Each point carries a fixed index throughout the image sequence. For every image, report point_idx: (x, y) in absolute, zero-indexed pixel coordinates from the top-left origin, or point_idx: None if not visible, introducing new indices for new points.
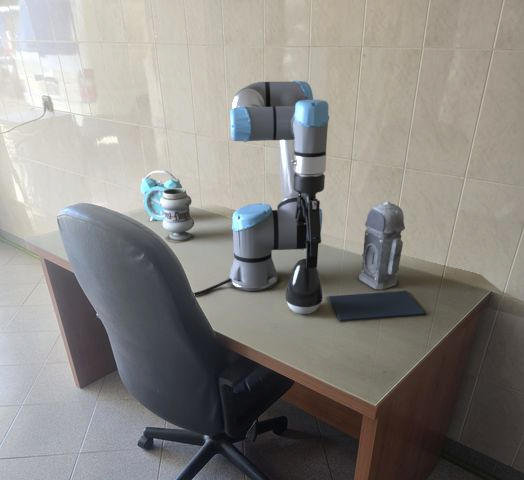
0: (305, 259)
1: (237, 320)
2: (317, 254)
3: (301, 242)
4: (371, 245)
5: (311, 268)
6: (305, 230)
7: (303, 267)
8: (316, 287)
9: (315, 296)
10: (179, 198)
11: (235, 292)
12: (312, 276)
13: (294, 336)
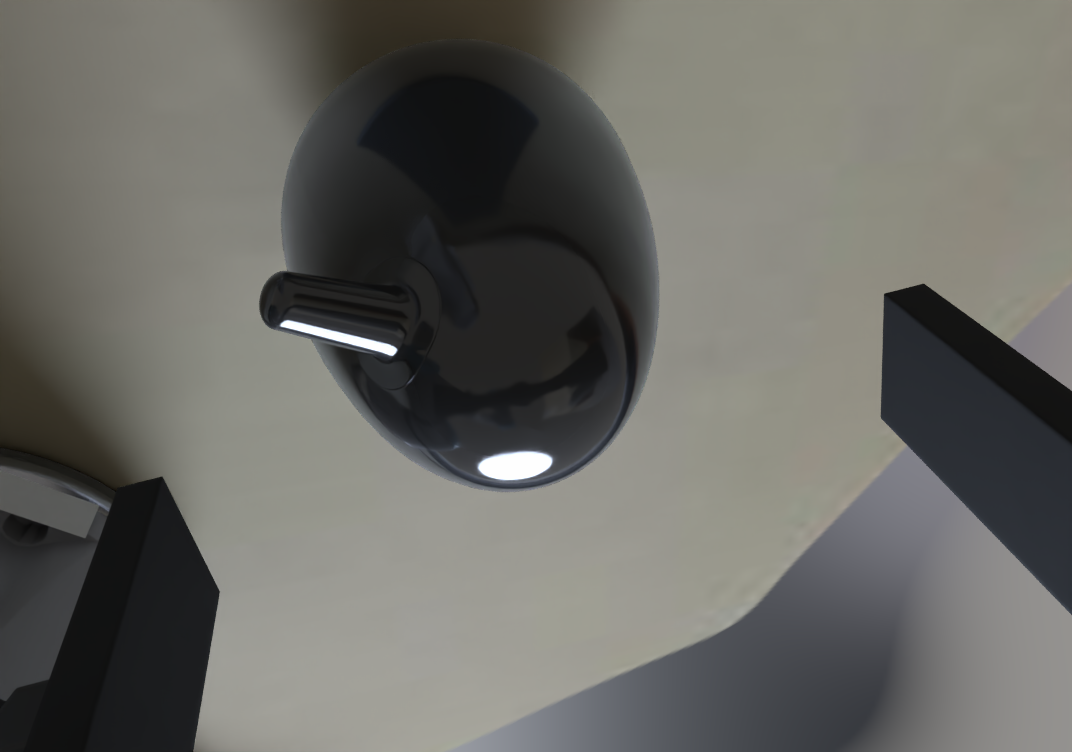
0: (536, 429)
1: (613, 573)
2: (1057, 382)
3: (176, 603)
4: None
5: (623, 306)
6: (102, 735)
7: (630, 405)
8: (612, 157)
9: (615, 137)
10: None
11: (222, 666)
12: (639, 252)
13: (834, 228)
